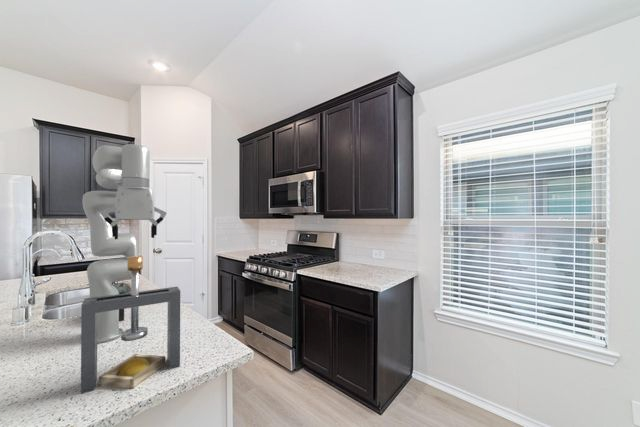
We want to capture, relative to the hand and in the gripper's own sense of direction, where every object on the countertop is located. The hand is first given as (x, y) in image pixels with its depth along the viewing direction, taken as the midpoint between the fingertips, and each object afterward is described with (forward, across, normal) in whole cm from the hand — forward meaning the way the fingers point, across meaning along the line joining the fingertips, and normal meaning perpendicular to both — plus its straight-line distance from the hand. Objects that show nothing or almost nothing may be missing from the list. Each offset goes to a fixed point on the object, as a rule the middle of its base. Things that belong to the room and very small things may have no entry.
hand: (135, 238), depth 88 cm
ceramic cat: (+43, -7, +63) cm, 77 cm away
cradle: (+43, 0, 0) cm, 43 cm away
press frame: (+43, 0, 0) cm, 43 cm away
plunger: (+31, 0, 0) cm, 31 cm away
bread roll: (+43, 0, 0) cm, 43 cm away
